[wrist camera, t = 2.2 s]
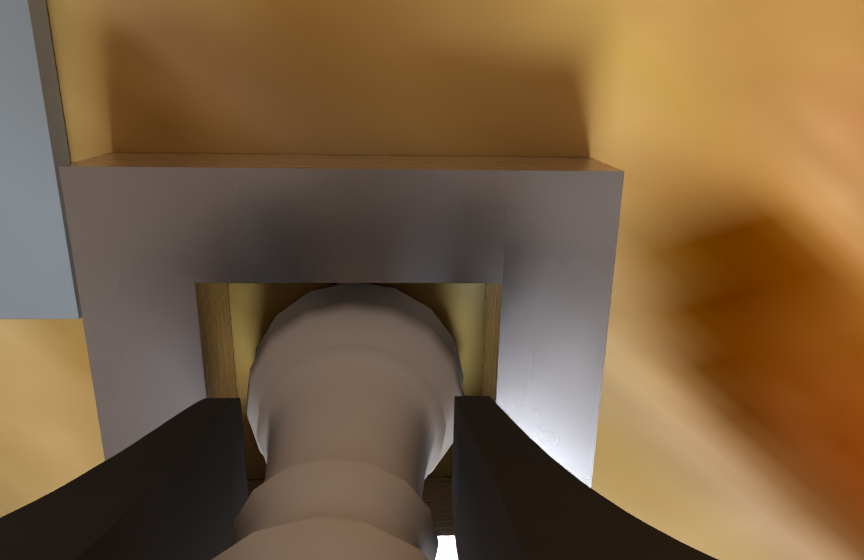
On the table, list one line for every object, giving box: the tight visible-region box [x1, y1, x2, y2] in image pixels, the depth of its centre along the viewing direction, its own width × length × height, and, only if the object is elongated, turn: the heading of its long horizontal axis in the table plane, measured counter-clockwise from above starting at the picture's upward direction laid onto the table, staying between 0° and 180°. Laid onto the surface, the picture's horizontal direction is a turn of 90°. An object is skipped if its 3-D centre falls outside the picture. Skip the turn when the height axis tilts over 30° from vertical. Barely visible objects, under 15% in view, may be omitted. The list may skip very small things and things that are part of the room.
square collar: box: [59, 153, 624, 560], centre depth 13 cm, size 9×9×2 cm
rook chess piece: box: [212, 283, 464, 560], centre depth 10 cm, size 4×4×8 cm
